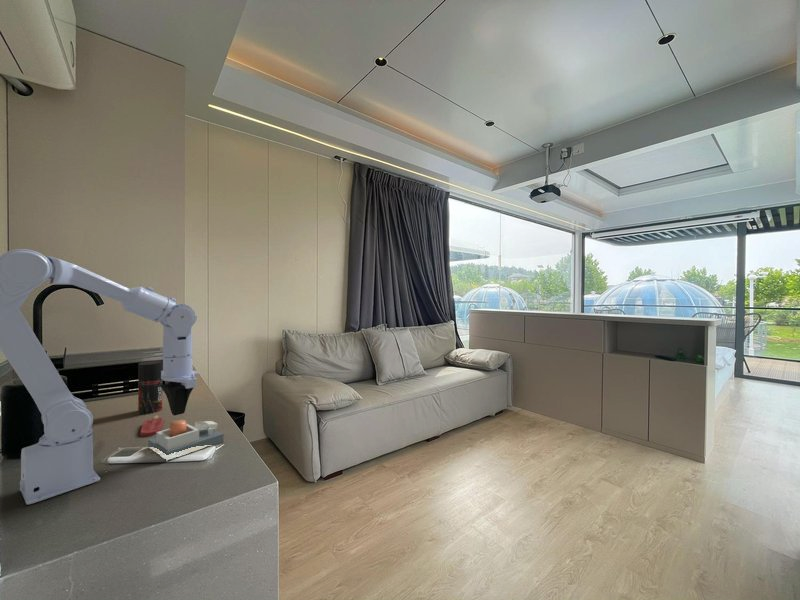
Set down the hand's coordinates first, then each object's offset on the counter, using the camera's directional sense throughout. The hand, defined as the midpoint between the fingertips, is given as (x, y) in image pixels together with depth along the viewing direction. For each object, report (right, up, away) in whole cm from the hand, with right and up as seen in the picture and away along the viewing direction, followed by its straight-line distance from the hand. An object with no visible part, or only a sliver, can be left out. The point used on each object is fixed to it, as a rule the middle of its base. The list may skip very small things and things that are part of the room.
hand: (178, 413), depth 76 cm
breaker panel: (0, -9, +3) cm, 9 cm away
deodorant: (-26, -8, +26) cm, 38 cm away
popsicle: (-16, -9, +14) cm, 23 cm away
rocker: (+3, -5, +5) cm, 8 cm away
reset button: (0, -5, 0) cm, 5 cm away
